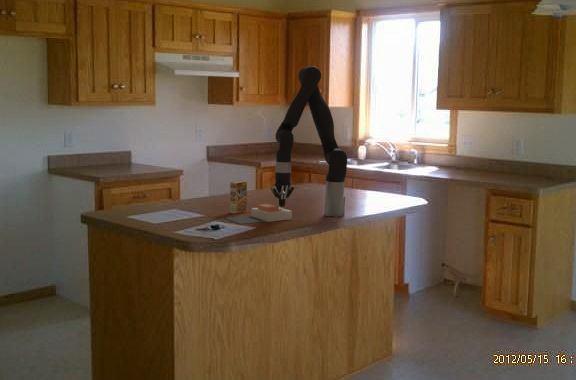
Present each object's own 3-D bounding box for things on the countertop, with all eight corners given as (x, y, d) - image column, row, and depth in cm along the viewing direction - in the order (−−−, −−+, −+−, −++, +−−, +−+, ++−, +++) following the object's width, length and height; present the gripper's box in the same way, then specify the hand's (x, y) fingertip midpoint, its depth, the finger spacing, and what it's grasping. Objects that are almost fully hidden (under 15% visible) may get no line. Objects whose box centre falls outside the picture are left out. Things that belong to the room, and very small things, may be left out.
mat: (250, 216, 329) (250, 215, 329) (266, 221, 318) (266, 221, 318) (225, 218, 321) (225, 218, 321) (240, 224, 310) (240, 223, 310)
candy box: (236, 214, 335) (236, 183, 332) (229, 212, 337) (230, 182, 335) (247, 211, 342) (247, 181, 340) (240, 210, 344) (241, 180, 342)
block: (268, 207, 332) (268, 203, 331) (278, 211, 325) (278, 206, 324) (257, 208, 328) (257, 204, 328) (268, 212, 321) (268, 207, 321)
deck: (275, 214, 338) (275, 206, 337) (291, 219, 327) (291, 211, 326) (251, 216, 330) (251, 208, 329) (267, 221, 319) (267, 213, 318)
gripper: (289, 169, 335) (288, 204, 338) (267, 170, 328) (266, 206, 330) (298, 171, 329) (297, 206, 332) (276, 172, 321) (274, 208, 324)
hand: (281, 206), depth 331 cm, fingers closed
